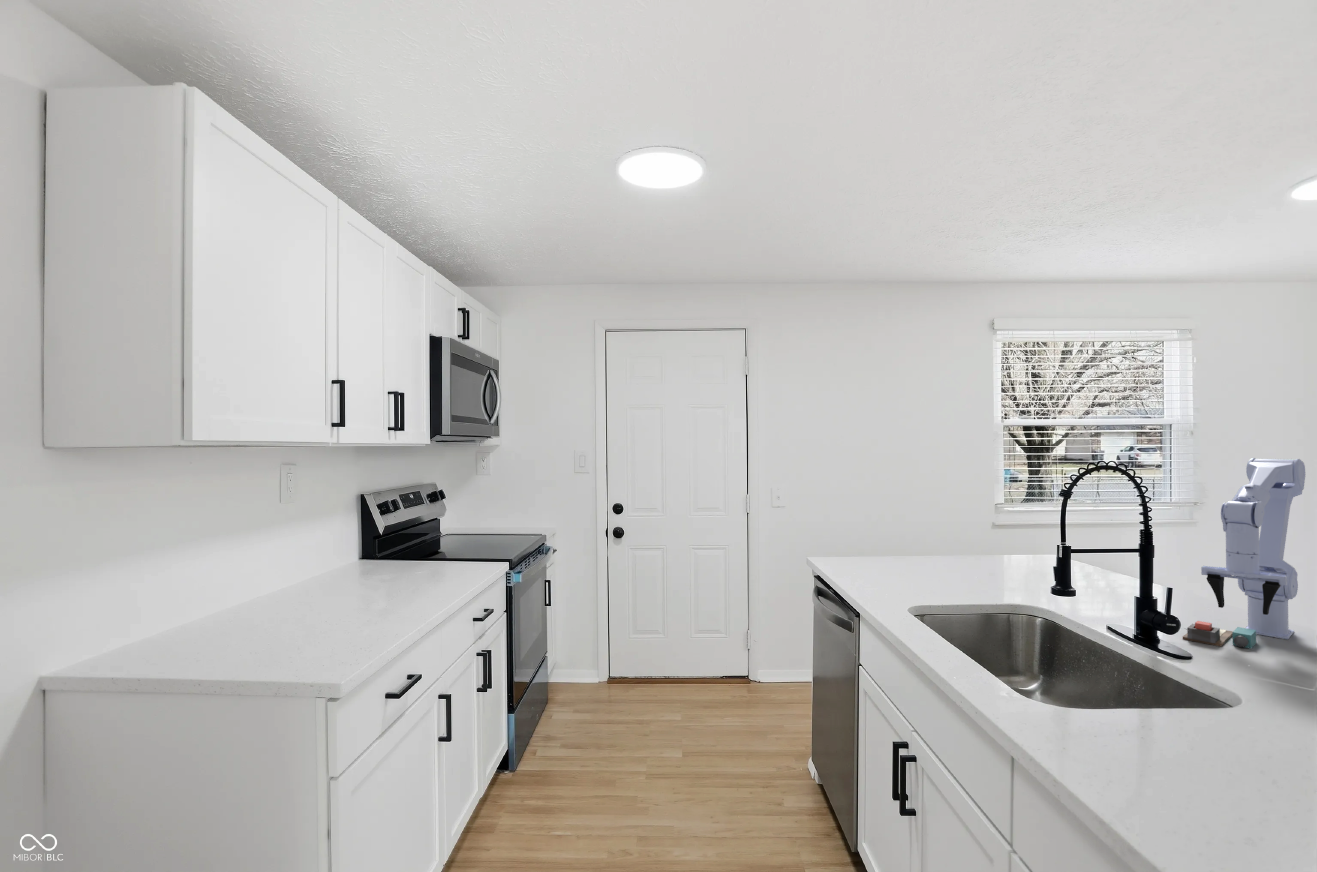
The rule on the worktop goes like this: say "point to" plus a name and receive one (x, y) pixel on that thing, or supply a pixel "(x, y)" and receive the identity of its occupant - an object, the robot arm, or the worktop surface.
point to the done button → (1203, 625)
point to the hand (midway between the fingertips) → (1243, 610)
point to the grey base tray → (1208, 635)
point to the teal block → (1244, 637)
